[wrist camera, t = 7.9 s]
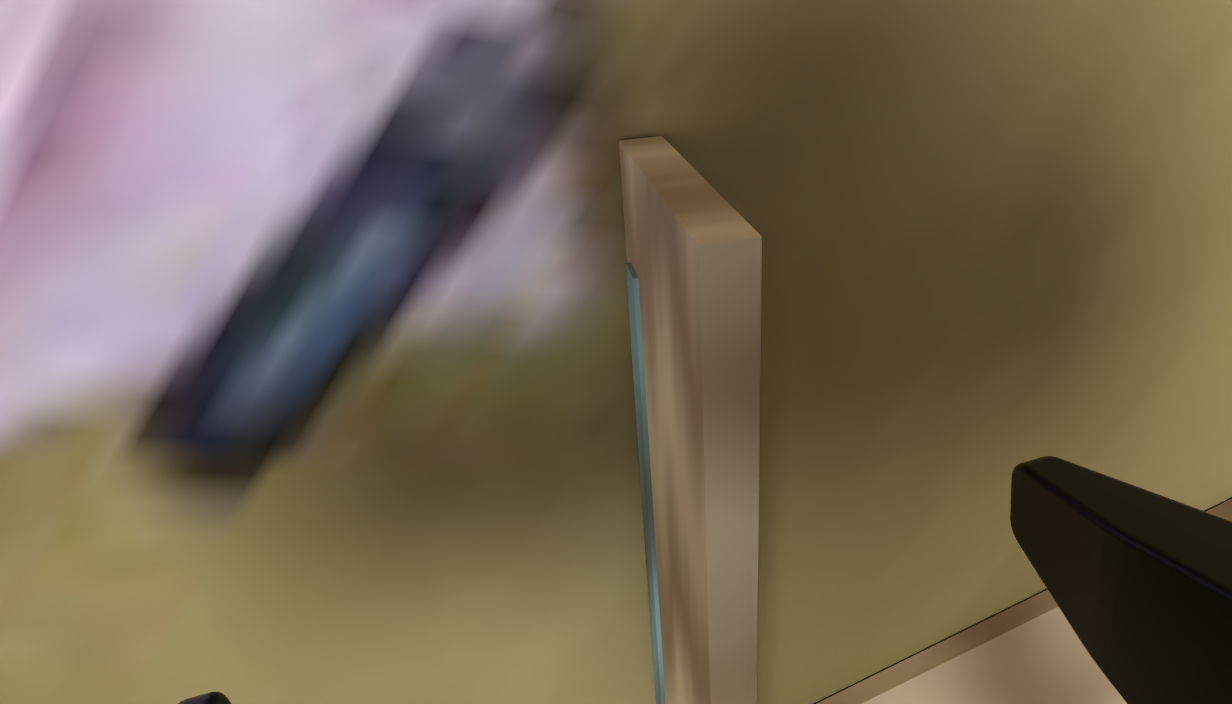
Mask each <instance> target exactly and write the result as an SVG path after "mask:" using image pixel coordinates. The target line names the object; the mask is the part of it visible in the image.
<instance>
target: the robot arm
mask: <svg viewBox="0 0 1232 704" xmlns="http://www.w3.org/2000/svg"><path fill="white" fill-rule="evenodd" d="M1010 520H1011V527H1012V530H1013V533H1014V535H1015V538H1016V540H1017V541H1018V543H1019V545H1020V546H1021V548H1022V549H1023V551H1024V553H1025V554H1026V556H1027V557H1028V559H1029V561H1030V562H1031V564H1032V565H1033V567H1034V568H1035V570H1036V572H1037V573H1038V575H1039V576H1040V578H1041V580H1042V581H1043V583H1044V584H1045V586H1046V587H1047V589H1048V591H1049V592H1050V594H1051V595H1052V597H1053V599H1054V600H1055V602H1056V603H1057V605H1058V606H1059V608H1060V610H1061V611H1062V613H1063V614H1064V616H1065V618H1066V619H1067V621H1068V622H1069V624H1070V625H1071V627H1072V629H1073V630H1074V632H1075V633H1076V635H1077V637H1078V638H1079V640H1080V641H1081V643H1082V644H1083V646H1084V647H1085V649H1086V650H1087V651H1088V653H1089V654H1090V656H1091V657H1092V659H1093V660H1094V661H1095V663H1096V664H1097V665H1098V667H1099V668H1100V669H1101V671H1102V672H1103V673H1104V675H1105V676H1106V677H1107V679H1108V680H1109V681H1110V682H1111V684H1112V685H1113V686H1114V687H1115V689H1116V690H1117V691H1118V693H1119V694H1120V695H1121V696H1122V698H1123V699H1124V700H1125V701H1126V703H1127V704H1232V521H1229V520H1226V519H1224V518H1221V517H1218V516H1215V515H1213V514H1210V513H1207V512H1205V511H1202V510H1199V509H1196V508H1194V507H1191V506H1188V505H1185V504H1183V503H1180V502H1177V501H1174V500H1172V499H1169V498H1166V497H1164V496H1161V495H1158V494H1155V493H1153V492H1150V491H1147V490H1144V489H1142V488H1139V487H1136V486H1134V485H1131V484H1128V483H1125V482H1123V481H1120V480H1117V479H1114V478H1112V477H1109V476H1106V475H1103V474H1101V473H1098V472H1095V471H1093V470H1090V469H1087V468H1084V467H1082V466H1079V465H1076V464H1073V463H1071V462H1068V461H1065V460H1062V459H1060V458H1056V457H1052V456H1046V457H1041V458H1038V459H1034V460H1031V461H1027V462H1024V463H1020V464H1018V465H1017V466H1016V467H1015V468H1014V470H1013V472H1012V482H1011V512H1010ZM178 704H231V702H230V701H229V699H228V698H227V697H226V696H225V695H224V694H222V693H220V692H210V693H207V694H203V695H200V696H196V697H193V698H189V699H186V700H184V701H181V702H180V703H178Z"/></svg>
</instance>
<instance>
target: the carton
mask: <svg viewBox="0 0 1232 704" xmlns="http://www.w3.org/2000/svg"><path fill="white" fill-rule="evenodd" d="M1206 512H1207V513H1210V514H1213V515H1215V516H1218V517H1221V518H1224V519H1226V520H1229V521H1232V499H1230V500H1228V501H1226V502H1224V503H1222V504H1220V505H1218V506H1216V507H1214V508H1212V509H1210V510H1208V511H1206ZM817 704H1127V703H1126V701H1125V700H1124V699H1123V698H1122V696H1121V695H1120V694H1119V693H1118V691H1117V690H1116V689H1115V687H1114V686H1113V685H1112V684H1111V682H1110V681H1109V680H1108V679H1107V677H1106V676H1105V675H1104V673H1103V672H1102V671H1101V669H1100V668H1099V667H1098V665H1097V664H1096V663H1095V661H1094V660H1093V659H1092V657H1091V656H1090V654H1089V653H1088V651H1087V650H1086V649H1085V647H1084V646H1083V644H1082V643H1081V641H1080V640H1079V638H1078V637H1077V635H1076V633H1075V632H1074V630H1073V629H1072V627H1071V625H1070V624H1069V622H1068V621H1067V619H1066V618H1065V616H1064V614H1063V613H1062V611H1061V610H1060V608H1059V606H1058V605H1057V603H1056V602H1055V600H1054V599H1053V597H1052V595H1051V594H1050V592H1049V591H1048V590H1046V591H1044V592H1042V593H1040V594H1038V595H1036V596H1033V597H1031V598H1029V599H1027V600H1025V601H1023V602H1021V603H1019V604H1017V605H1015V606H1013V607H1011V608H1009V609H1007V610H1005V611H1003V612H1001V613H999V614H997V615H995V616H993V617H991V618H989V619H987V620H985V621H983V622H981V623H979V624H977V625H975V626H973V627H971V628H969V629H967V630H965V631H963V632H961V633H959V634H957V635H954V636H952V637H950V638H948V639H946V640H944V641H942V642H940V643H938V644H936V645H934V646H932V647H930V648H928V649H926V650H924V651H922V652H920V653H918V654H916V655H914V656H912V657H910V658H908V659H906V660H904V661H902V662H900V663H898V664H896V665H894V666H892V667H890V668H888V669H886V670H884V671H882V672H880V673H877V674H875V675H873V676H871V677H869V678H867V679H865V680H863V681H861V682H859V683H857V684H855V685H853V686H851V687H849V688H847V689H845V690H843V691H841V692H839V693H837V694H835V695H833V696H831V697H829V698H827V699H825V700H823V701H821V702H819V703H817Z"/></svg>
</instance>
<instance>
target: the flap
mask: <svg viewBox="0 0 1232 704" xmlns="http://www.w3.org/2000/svg"><path fill="white" fill-rule="evenodd" d="M619 154H620V168H621V183H622V197H623V211H624V226H625V240H626V255H627V263H625V268H626V282H627V296H628V310H629V325H630V339H631V353H632V367H633V381H634V395H635V410H636V424H637V438H638V452H639V466H640V480H641V495H642V509H643V523H644V537H645V551H646V566H647V580H648V594H649V608H650V622H651V636H652V651H653V665H654V679H655V693H656V702H657V704H757V622H758V536H759V450H760V363H761V277H762V236H761V235H760V234H759V233H758V232H757V231H756V230H755V229H754V228H753V227H752V226H751V225H750V224H749V223H748V222H747V221H746V220H745V219H744V218H743V217H742V216H741V215H740V214H739V213H738V212H737V211H736V210H735V209H734V208H733V207H732V206H731V205H730V204H729V203H728V202H727V201H726V200H725V199H724V198H723V197H722V196H721V195H720V194H719V193H718V192H717V191H716V190H715V189H714V188H713V187H712V186H711V185H710V184H709V183H708V182H707V181H706V180H705V179H704V178H703V177H702V176H701V175H700V174H699V173H698V172H697V171H696V170H695V169H694V168H693V167H692V166H691V165H690V164H689V163H688V162H687V161H686V160H685V159H684V158H683V157H682V156H681V155H680V154H679V152H678V151H677V150H676V149H675V148H674V147H673V146H672V145H671V144H670V143H669V142H668V141H667V140H666V139H665V138H664V137H663V136H655V137H646V138H638V139H629V140H620V141H619Z"/></svg>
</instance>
